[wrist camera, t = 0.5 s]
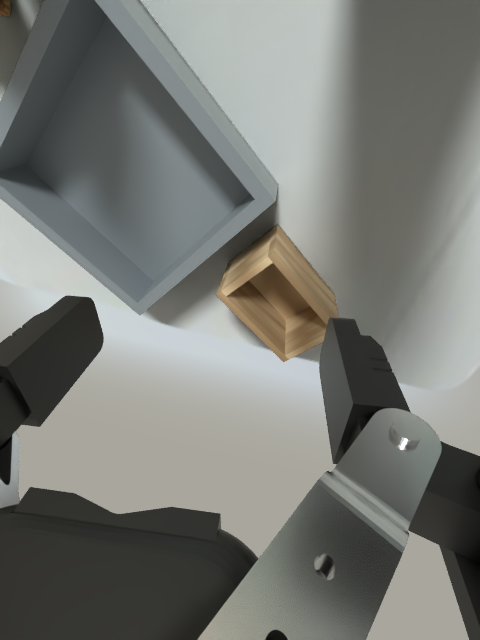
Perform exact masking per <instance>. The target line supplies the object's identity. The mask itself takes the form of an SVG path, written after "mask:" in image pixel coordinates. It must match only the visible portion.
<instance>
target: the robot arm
mask: <svg viewBox="0 0 480 640" xmlns="http://www.w3.org/2000/svg"><path fill="white" fill-rule="evenodd" d="M102 345H103V332H102V328H101V325H100V321H99V318H98V314H97V311H96V307H95V304H94V302H93V300H92V299H91V298H89V297H78V296H65V297H63V298H62V299H61V300H59V301H58V302H57V303H56V304H54V305H53V306H52V307H51V308H49V309H48V310H46V311H44V312H42V313H40V314H38V315H36V316H34V317H33V318H31V319H30V320H29V321H28V322H26V323H25V324H24V325H23V326H22V328H19V329H17V330H16V331H15V332H14V333H12V336H9V337H7V338H6V339H5V340H3V341H2V342H1V343H0V640H366V638H367V636H368V633H369V631H370V628H371V626H372V624H373V622H374V619H375V617H376V614H377V612H378V610H379V607H380V605H381V603H382V600H383V598H384V595H385V593H386V591H387V589H388V586H389V584H390V582H391V579H392V577H393V575H394V572H395V570H396V568H397V565H398V563H399V561H400V558H401V556H402V553H403V551H404V549H405V546H406V544H407V541H408V537H409V533H408V532H407V531H408V530H409V531H411V532H413V533H415V534H417V535H419V536H422V537H424V538H426V539H428V540H430V541H432V542H434V543H436V544H439V545H440V549H441V552H442V555H443V558H444V561H445V564H446V567H447V570H448V574H449V577H450V580H451V583H452V586H453V590H454V593H455V596H456V599H457V602H458V605H459V608H460V612H461V615H462V618H463V621H464V624H465V627H466V631H467V634H468V637H469V640H480V456H478V455H475V454H472V453H469V452H467V451H464V450H461V449H458V448H456V447H453V446H450V445H448V444H445V443H443V442H442V441H440V439H439V437H438V435H437V434H436V432H435V431H434V430H433V429H432V427H431V426H430V425H429V424H428V423H427V422H425V421H424V420H423V419H421V418H420V417H418V416H416V415H414V414H412V413H411V412H410V410H409V407H408V405H407V403H406V401H405V398H404V396H403V394H402V391H401V389H400V387H399V385H398V382H397V380H396V378H395V376H394V373H393V372H392V369H391V366H390V364H389V362H387V357H386V355H385V353H384V351H383V348H382V347H381V346H380V345H379V344H378V343H377V342H376V341H375V340H374V339H373V338H372V337H371V336H362V335H360V332H359V329H358V327H357V324H356V321H355V320H354V319H345V318H333V317H330V318H329V320H328V323H327V328H326V332H325V337H324V341H323V346H322V350H321V355H320V367H319V368H320V378H321V384H322V391H323V398H324V405H325V412H326V419H327V426H328V433H329V439H330V446H331V453H332V460H333V464H337V465H336V467H335V468H334V469H333V470H332V472H329V471H327V472H325V473H324V474H323V475H322V476H321V477H320V479H319V480H318V481H317V482H316V484H315V485H314V486H313V488H312V489H311V490H310V491H309V493H308V494H307V495H306V497H305V498H304V499H303V501H302V502H301V503H300V505H299V506H298V507H297V509H296V510H295V511H294V513H293V514H292V515H291V517H290V518H289V519H288V521H287V522H286V523H285V525H284V526H283V527H282V529H281V530H280V531H279V532H278V534H277V535H276V536H275V538H274V539H273V540H272V542H271V543H270V544H269V546H268V547H267V548H266V550H265V551H264V552H263V554H262V555H261V556H260V558H258V557H257V556H256V555H255V554H254V553H253V552H252V551H251V550H250V549H249V548H248V547H247V546H246V545H245V544H244V543H243V542H242V541H240V540H239V539H237V538H236V537H234V536H233V535H231V534H229V533H228V532H225V531H224V530H222V529H221V520H220V519H221V518H220V514H218V513H211V512H204V511H197V510H190V509H182V508H175V507H168V508H161V509H154V510H147V511H139V512H133V513H125V514H115V513H112V512H110V511H108V510H106V509H104V508H102V507H100V506H98V505H96V504H94V503H92V502H90V501H89V500H87V499H85V498H83V497H81V496H79V495H77V494H74V493H68V492H61V491H54V490H47V489H40V488H33V487H30V488H29V490H28V491H27V492H26V494H25V495H24V497H23V498H22V499H21V501H20V498H19V492H18V484H19V435H18V433H17V432H16V430H17V429H18V428H19V427H20V425H30V426H38V427H40V426H41V424H42V423H43V422H44V421H45V419H46V418H47V417H48V416H49V415H50V413H51V412H52V411H53V410H54V408H55V407H56V406H57V404H58V403H59V402H60V401H61V400H62V398H63V397H64V396H65V394H66V393H67V392H68V391H69V390H70V388H71V387H72V386H73V384H74V383H75V382H76V381H77V379H78V378H79V377H80V375H81V374H82V373H83V372H84V371H85V369H86V368H87V367H88V366H89V364H90V363H91V362H92V361H93V359H94V358H95V357H96V356H97V354H98V353H99V352H100V350H101V348H102Z"/></svg>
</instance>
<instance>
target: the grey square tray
mask: <svg viewBox="0 0 480 640" xmlns="http://www.w3.org/2000/svg"><path fill="white" fill-rule="evenodd" d="M277 190H278V183H277V182H276V181H275V179H274V178H273V177H272V175H271V174H270V173H269V171H268V170H267V169H266V167H265V166H264V165H263V163H262V162H261V161H260V159H259V158H258V157H257V155H256V154H255V153H254V151H253V150H252V149H251V147H250V146H249V145H248V143H247V142H246V141H245V139H244V138H243V137H242V135H241V134H240V133H239V131H238V130H237V129H236V127H235V126H234V125H233V123H232V122H231V121H230V119H229V118H228V117H227V115H226V114H225V113H224V111H223V110H222V109H221V107H220V106H219V105H218V104H217V102H216V101H215V100H214V98H213V97H212V96H211V94H210V93H209V92H208V90H207V89H206V88H205V86H204V85H203V84H202V82H201V81H200V80H199V78H198V77H197V76H196V74H195V73H194V72H193V70H192V69H191V68H190V66H189V65H188V64H187V62H186V61H185V60H184V58H183V57H182V56H181V54H180V53H179V52H178V50H177V49H176V48H175V46H174V45H173V44H172V42H171V41H170V40H169V38H168V37H167V36H166V34H165V33H164V32H163V30H162V29H161V28H160V26H159V25H158V24H157V22H156V21H155V20H154V18H153V17H152V16H151V14H150V13H149V12H148V10H147V9H146V8H145V6H144V5H143V4H142V2H141V1H140V0H44V1H43V3H42V6H41V8H40V11H39V13H38V15H37V18H36V20H35V22H34V25H33V27H32V29H31V32H30V34H29V36H28V39H27V41H26V43H25V46H24V48H23V50H22V53H21V55H20V57H19V60H18V62H17V64H16V67H15V69H14V71H13V74H12V76H11V78H10V81H9V83H8V85H7V88H6V90H5V93H4V95H3V97H2V100H1V102H0V198H1V199H2V200H3V201H4V202H5V203H7V204H8V205H9V206H10V207H11V208H13V209H14V210H15V211H16V212H17V213H19V214H20V215H21V216H22V217H23V218H25V219H26V220H27V221H28V222H29V223H30V224H32V225H33V226H34V227H35V228H36V229H38V230H39V231H40V232H41V233H42V234H44V235H45V236H46V237H47V238H48V239H49V240H51V241H52V242H53V243H54V244H55V245H57V246H58V247H59V248H60V249H61V250H63V251H64V252H65V253H66V254H67V255H69V256H70V257H71V258H72V259H73V260H74V261H76V262H77V263H78V264H79V265H80V266H82V267H83V268H84V269H85V270H86V271H88V272H89V273H90V274H91V275H92V276H93V277H95V278H96V279H97V280H98V281H99V282H101V283H102V284H103V285H104V286H105V287H107V288H108V289H109V290H110V291H111V292H113V293H114V294H115V295H116V296H117V297H118V298H120V299H121V300H122V301H123V302H124V303H126V304H127V305H128V306H129V307H130V308H132V309H133V310H134V311H135V312H136V313H137V314H139V315H141V314H142V313H143V312H145V311H146V310H147V309H148V308H149V307H150V306H152V305H153V304H154V303H155V302H156V301H158V300H159V299H160V298H161V297H162V296H164V295H165V294H166V293H167V292H168V291H169V290H171V289H172V288H173V287H174V286H175V285H177V284H178V283H179V282H180V281H181V280H183V279H184V278H185V277H186V276H187V275H189V274H190V273H191V272H192V271H193V270H194V269H196V268H197V267H198V266H199V265H200V264H202V263H203V262H204V261H205V260H206V259H208V258H209V257H210V256H211V255H212V254H214V253H215V252H216V251H217V250H218V249H219V248H221V247H222V246H223V245H224V244H225V243H227V242H228V241H229V240H230V239H231V238H233V237H234V236H235V235H236V234H237V233H238V232H240V231H241V230H242V229H243V228H244V227H246V226H247V225H248V224H249V223H250V222H252V221H253V220H254V219H255V218H256V217H258V216H259V215H260V214H261V213H262V212H263V211H265V210H266V209H267V208H268V207H269V206H271V205H272V204H273V203H274V202H275V201H276V196H277Z"/></svg>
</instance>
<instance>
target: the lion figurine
mask: <svg viewBox="0 0 480 640" xmlns="http://www.w3.org/2000/svg"><path fill="white" fill-rule="evenodd" d="M10 13H11V4H10V1H9V0H0V16H3V17H4V16H9V15H10Z"/></svg>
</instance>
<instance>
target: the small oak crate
mask: <svg viewBox="0 0 480 640" xmlns="http://www.w3.org/2000/svg"><path fill="white" fill-rule="evenodd" d="M216 296H217V297H218V298H219V299H220V300H221V301H222V302H223V303H224V304H225V305H226V306H227V307H228V308H229V309H230V310H231V311H232V312H233V313H234V314H235V315H236V316H237V317H238V318H239V319H240V320H242V321H243V322H244V323H245V324H246V325H247V326H248V327H249V328H250V329H251V330H252V331H253V332H254V333H255V334H256V335H257V336H258V337H259V338H260V339H261V340H262V341H263V342H264V343H265V344H266V345H267V346H268V347H269V348H270V349H271V350H272V351H273V352H274V353H275V354H276V355H277V356H278V357H279V358H280V359H281V360H282V361H283V362H285V361H287V360H289V359H291V358H293V357H294V356H296V355H298V354H300V353H302V352H304V351H306V350H308V349H310V348H312V347H314V346H316V345H318V344H320V343H322V342H323V341H324V337H325V332H326V328H327V323H328V320H329V318H330V317H333V318H339V315H338V310H337V305H336V300H335V296H334V293H333V292H332V291H331V290H330V288H329V287H328V286H327V285H326V283H325V282H324V281H323V280H322V278H321V277H320V276H319V275H318V273H317V272H316V271H315V270H314V268H313V267H312V266H311V265H310V263H309V262H308V261H307V260H306V258H305V257H304V256H303V255H302V253H301V252H300V251H299V250H298V248H297V247H296V246H295V245H294V243H293V242H292V241H291V240H290V238H289V237H288V236H287V235H286V233H285V232H284V231H283V230H282V228H281V227H280V226H279V225H278V224H277V225H276V226H274V227H273V228H272V229H271V230H269V231H268V232H267V233H266V234H264V235H263V236H262V237H260V238H259V239H258V240H257V241H255V242H254V243H253V244H252V245H250V246H249V247H248V248H247V249H245V250H244V251H243V252H242V253H240V254H239V255H238V256H236V257H235V258H234V259H233V260H231V261H230V262H229V263H228V265H227V268H226V270H225V273H224V276H223V278H222V281H221V283H220V286H219V288H218V291H217V293H216Z"/></svg>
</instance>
